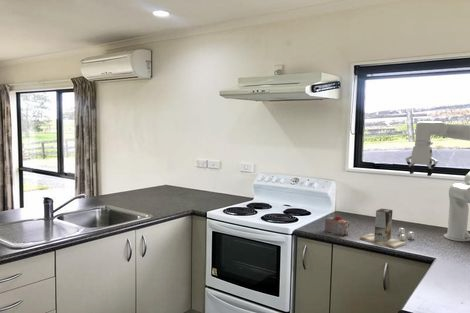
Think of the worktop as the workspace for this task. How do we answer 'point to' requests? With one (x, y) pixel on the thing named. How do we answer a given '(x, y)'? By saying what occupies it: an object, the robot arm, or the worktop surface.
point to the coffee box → (383, 225)
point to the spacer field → (403, 237)
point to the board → (389, 243)
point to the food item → (336, 226)
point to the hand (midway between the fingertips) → (420, 174)
